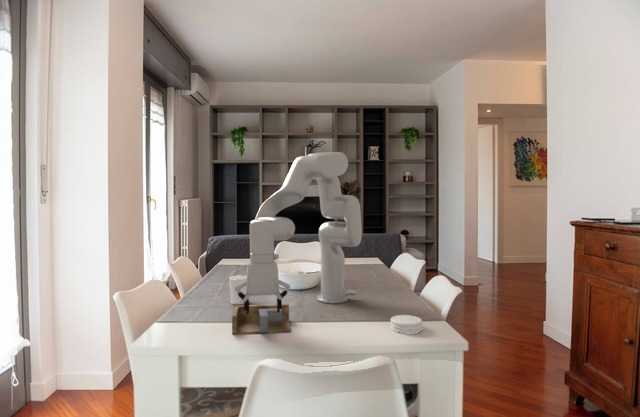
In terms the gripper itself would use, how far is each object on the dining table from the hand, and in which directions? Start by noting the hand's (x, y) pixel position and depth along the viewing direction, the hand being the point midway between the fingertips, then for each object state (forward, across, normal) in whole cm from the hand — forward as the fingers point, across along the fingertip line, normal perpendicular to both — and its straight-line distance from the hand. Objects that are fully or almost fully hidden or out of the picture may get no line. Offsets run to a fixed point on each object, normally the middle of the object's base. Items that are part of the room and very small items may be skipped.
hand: (263, 311), depth 135 cm
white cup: (+6, +10, -33) cm, 35 cm away
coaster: (+7, -46, +5) cm, 46 cm away
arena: (+6, 0, -2) cm, 6 cm away
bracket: (+5, -2, 0) cm, 6 cm away
